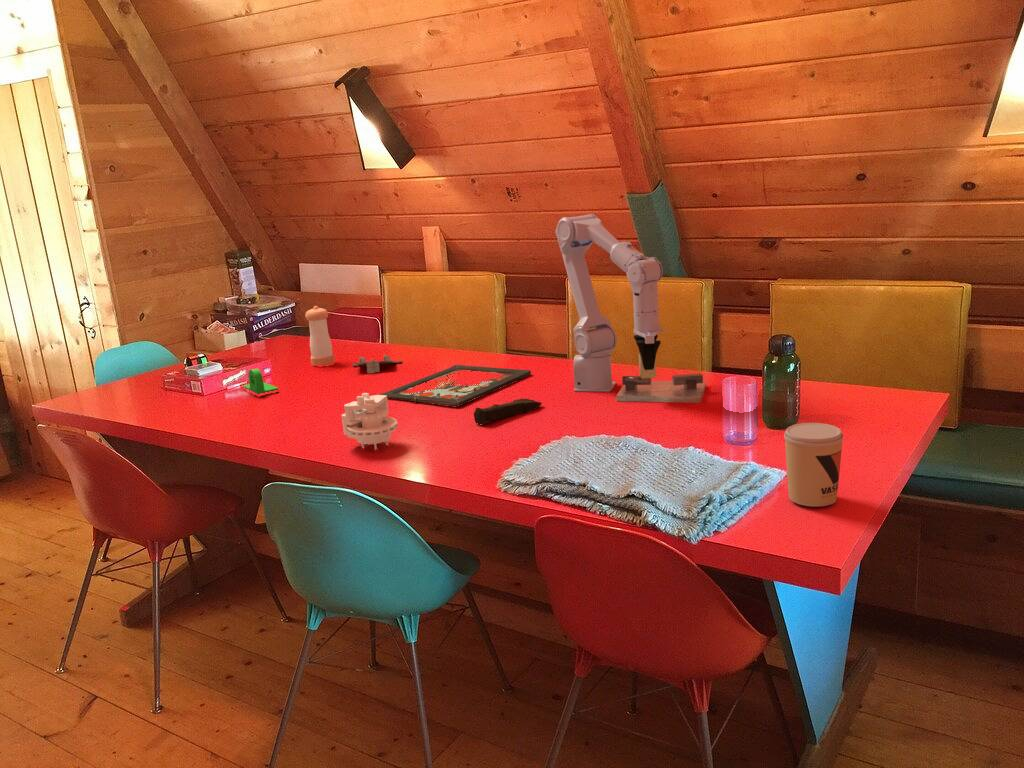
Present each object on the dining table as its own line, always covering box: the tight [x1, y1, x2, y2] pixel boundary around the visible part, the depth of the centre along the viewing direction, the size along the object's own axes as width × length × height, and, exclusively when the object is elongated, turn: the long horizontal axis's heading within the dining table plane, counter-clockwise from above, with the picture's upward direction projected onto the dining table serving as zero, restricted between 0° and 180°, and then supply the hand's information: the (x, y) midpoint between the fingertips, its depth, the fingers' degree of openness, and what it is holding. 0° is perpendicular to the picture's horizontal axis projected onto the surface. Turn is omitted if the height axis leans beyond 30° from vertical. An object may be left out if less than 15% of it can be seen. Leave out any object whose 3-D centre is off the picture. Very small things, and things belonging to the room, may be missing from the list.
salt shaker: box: [304, 305, 336, 366], centre depth 275 cm, size 7×7×19 cm
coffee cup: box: [783, 422, 844, 508], centre depth 149 cm, size 9×9×12 cm
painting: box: [378, 364, 532, 407], centre depth 240 cm, size 28×35×2 cm
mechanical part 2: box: [341, 392, 399, 450], centre depth 194 cm, size 11×12×12 cm
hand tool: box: [473, 398, 543, 426], centre depth 210 cm, size 19×4×5 cm
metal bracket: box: [352, 354, 403, 374], centre depth 267 cm, size 14×6×15 cm
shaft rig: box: [615, 372, 707, 404], centre depth 218 cm, size 20×14×5 cm
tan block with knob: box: [638, 351, 658, 379], centre depth 211 cm, size 4×4×7 cm
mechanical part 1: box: [242, 368, 279, 394], centre depth 250 cm, size 12×6×8 cm, turn 37°
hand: (647, 366), depth 211 cm, fingers closed on tan block with knob, 4 cm apart
